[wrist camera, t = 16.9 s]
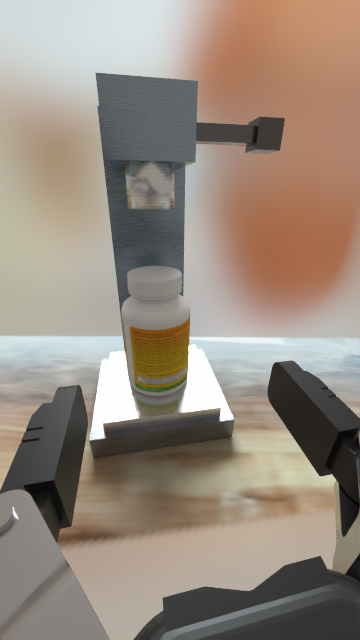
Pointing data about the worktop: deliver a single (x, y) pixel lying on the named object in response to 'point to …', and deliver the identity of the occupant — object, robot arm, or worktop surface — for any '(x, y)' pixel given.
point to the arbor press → (157, 247)
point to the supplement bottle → (156, 330)
